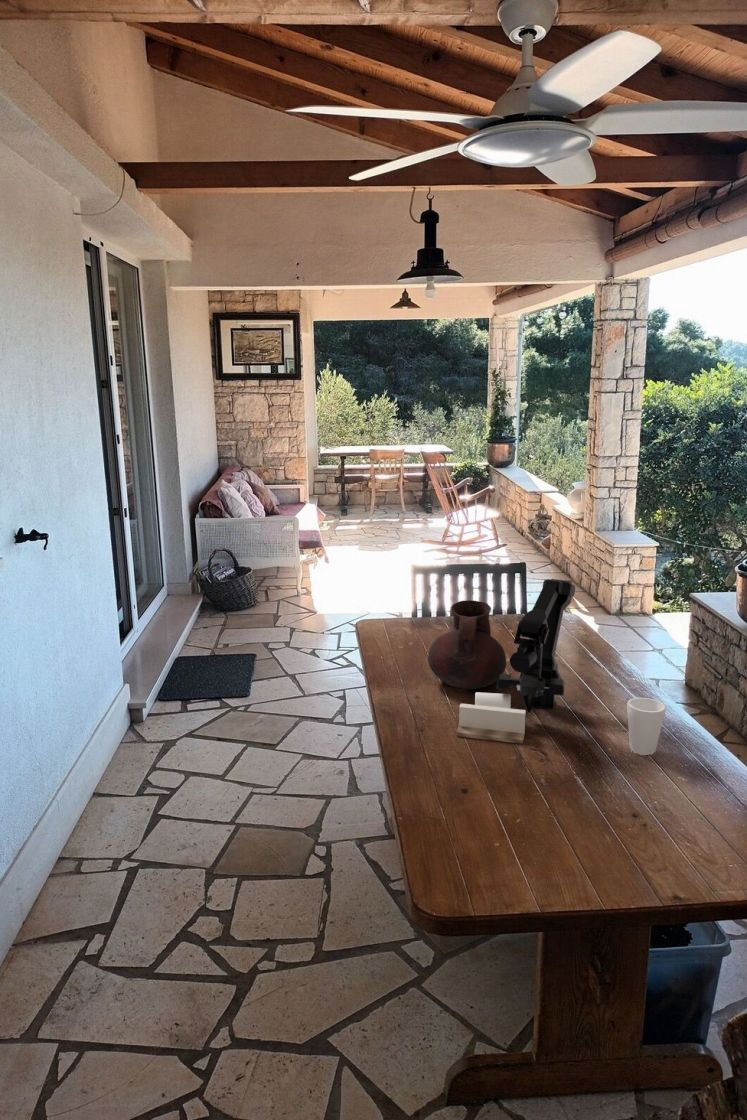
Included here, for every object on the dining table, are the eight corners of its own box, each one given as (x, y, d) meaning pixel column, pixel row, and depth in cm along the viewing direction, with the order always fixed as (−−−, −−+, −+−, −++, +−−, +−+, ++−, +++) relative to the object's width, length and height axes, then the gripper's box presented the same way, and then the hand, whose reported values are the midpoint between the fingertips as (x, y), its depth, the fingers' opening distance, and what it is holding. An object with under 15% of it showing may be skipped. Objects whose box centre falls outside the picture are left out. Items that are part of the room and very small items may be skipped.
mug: (509, 727, 220) (510, 700, 219) (474, 724, 222) (475, 698, 220) (508, 709, 232) (509, 684, 230) (475, 707, 233) (476, 682, 232)
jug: (417, 691, 245) (418, 615, 240) (441, 664, 268) (442, 595, 262) (495, 703, 236) (498, 624, 231) (512, 674, 259) (515, 602, 253)
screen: (524, 733, 216) (525, 710, 214) (522, 743, 210) (523, 719, 208) (460, 726, 221) (460, 703, 219) (456, 736, 215) (457, 712, 213)
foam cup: (661, 745, 209) (665, 700, 206) (661, 761, 200) (666, 714, 197) (624, 740, 212) (627, 695, 209) (623, 755, 203) (626, 709, 201)
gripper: (495, 667, 215) (493, 720, 218) (564, 674, 210) (561, 727, 214) (499, 654, 225) (497, 704, 229) (565, 660, 221) (562, 711, 224)
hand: (529, 712), depth 224 cm, fingers closed
